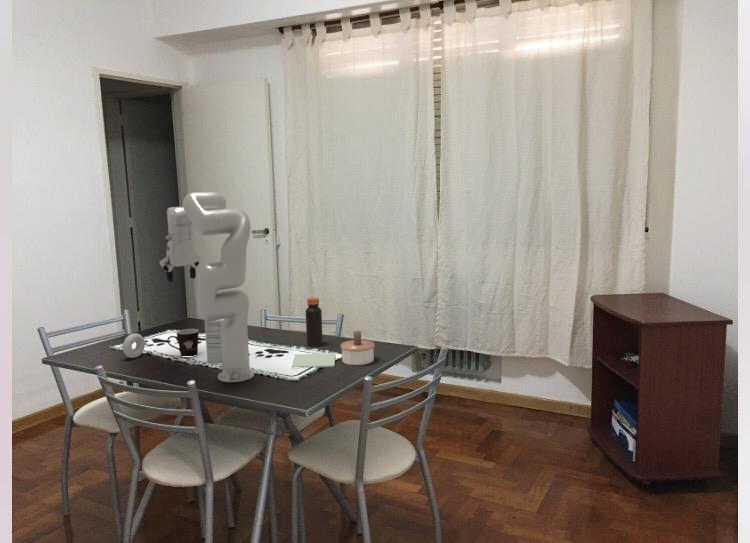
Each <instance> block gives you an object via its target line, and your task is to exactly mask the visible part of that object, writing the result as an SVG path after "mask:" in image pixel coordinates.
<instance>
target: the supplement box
mask: <svg viewBox="0 0 750 543" xmlns="http://www.w3.org/2000/svg"><path fill="white" fill-rule="evenodd" d="M223 321H224V319H221V320H215V321H204V332H205V334H204V335H205V347H206V349H205V350H206V362H207V363H222V356H221V340H220V329H221V325H222V323H223Z"/></svg>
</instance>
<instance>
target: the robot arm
mask: <svg viewBox="0 0 750 543" xmlns="http://www.w3.org/2000/svg"><path fill="white" fill-rule="evenodd" d="M166 216H167V229H168V230H167V231H168V234H167V235H166V236H165V239H166V240H168V241H167V244H166V245H167V246H166V256H165V257H164V258H163V259H161V260H160V261H159V262H158V263H159V264H160V266H161V268H162V269H163V270H164V271H165V272H166V279H167V282H171V283H172V282H174V273H173V272H172V270H173V269H174V267H175V268H176V267H186V266H189V267H190V268H189V278H190V279H193V280H195V279H196V276H198V278H197V282H198V283H197V308H198V315H199V317H200V319H201V320H203V322H205V321H215V320H221V319H224V321H223V323H222V325H221V329H220V340H221V356H222V362H221V368H222V369H221V370H222V372H220V373H219V374H218V375H217V378H218V380H219V381H220V382H224V383H240V382H245V381H248V380H252V378H254V377H255V372H254V370H252V369H250V367H251V366H250V350H249V331H248V315H249V307H250V300H249V296H248V295H247V292H245V291H243V290H239V289H236V288H239V287H242V286H243V284H245V282H246V274H247V273H246V271H247V268H246V267H247V248H248V245H249V244H248V243H249V240H250V235H251V229H252V228H251V221H250V217H249V215H248V214H247V213H246V212H245V211H243V210H241V209H235V208H227V200H226V198H225V196H224V195H223V194H221V193H219V192H216V191H215V192H214V191H198V192H196V191H195V192H189V193H188V194H186V195H185V197H184V198H183V201H182V206H176V207H175V206H172V207H168V208H167V210H166ZM189 226H194V228H195V229H196V231H197V232H198V233H199V235H203V236H216V235H218V236H219V235H228V234H229V235H228V237H227V238H226V239H225V240H224V242H223V244H222V245H221V247H220V260H219V261H217V262H208V263H205V264H204V265H202V266H201V268H200V269H199V271H198V275H197V272H196V271H197V270H196V269H197V267H198V266H199V264H200V262H201V258H202V257H200V256H198V255H196V254H195V251H194V248H193V244H192V240H189V239H190V237H189ZM166 264H167V265H166ZM234 288H235V289H234ZM228 289H229V290H228ZM230 289H231V290H230ZM218 291H219V292H218Z"/></svg>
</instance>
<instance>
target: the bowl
mask: <svg viewBox="0 0 750 543" xmlns="http://www.w3.org/2000/svg"><path fill="white" fill-rule="evenodd" d="M374 354H375V353H374V348H373V349H370V350H367V351H346V350H343V349H341V355H342V356H341V357H342V363H343V364H345V365H348V366H349V365H350V366H364V365H365V366H366V365H368V364H372V363H373V362H374V357H375V356H374Z"/></svg>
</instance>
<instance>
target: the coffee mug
mask: <svg viewBox="0 0 750 543" xmlns="http://www.w3.org/2000/svg"><path fill="white" fill-rule="evenodd" d="M199 333H200V331H199V329H198V328H185V329H181V330H177V331H176V335H171V336H168V338H167V339H166V342H167V344H168V345H169V346H170V347H171V348H173V349H176V350H178V351H179V353H180V357H181V356H194V355H197V356H198V352H199ZM171 338H174V339H176V342H178V343H177V344H178V347H176V346H174V345H173V344H171V343H170V342H169V340H170V339H171ZM194 357H195V356H194Z"/></svg>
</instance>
